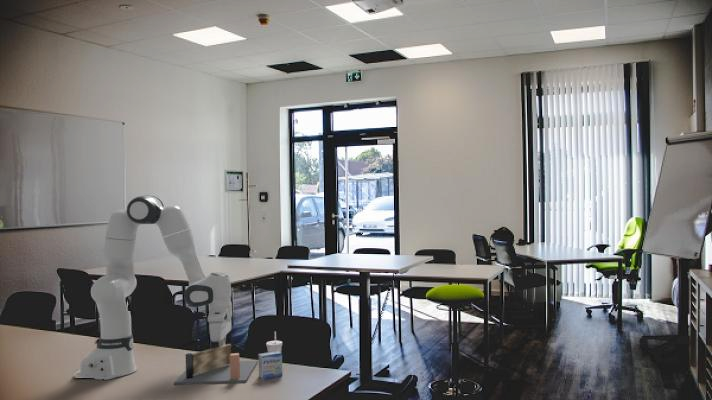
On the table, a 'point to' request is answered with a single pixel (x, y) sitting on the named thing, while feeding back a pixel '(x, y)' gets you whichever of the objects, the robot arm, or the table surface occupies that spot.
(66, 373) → the table surface
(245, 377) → the mat
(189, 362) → the hinge post
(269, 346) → the smoothie
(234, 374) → the post
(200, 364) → the gate
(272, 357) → the medicine box
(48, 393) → the table surface
